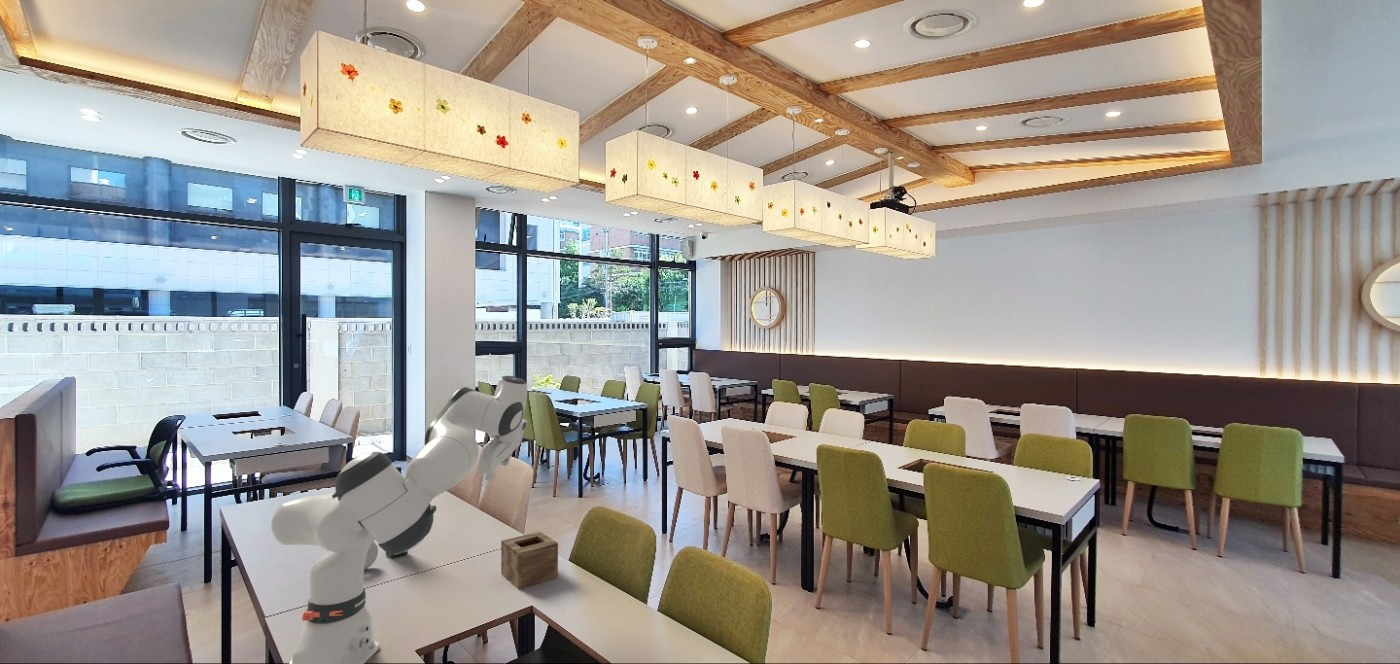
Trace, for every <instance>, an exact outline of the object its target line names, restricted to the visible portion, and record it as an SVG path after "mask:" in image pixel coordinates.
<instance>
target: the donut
mask: <svg viewBox="0 0 1400 664" xmlns="http://www.w3.org/2000/svg"><path fill="white" fill-rule="evenodd" d="M377 545H378V544H376V542H375V541H373V543H372V544H371V546H370V548H369V550H368V552H367V555H366V558H365V564H364V571H365V570H367V569H369V568H370V567H371V566H373V564H374V563H375V562H376V559H377V557H378V554H379V553H378V552H379V549H378V546H377Z"/></svg>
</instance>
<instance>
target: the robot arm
mask: <svg viewBox="0 0 1400 664" xmlns="http://www.w3.org/2000/svg"><path fill="white" fill-rule="evenodd" d="M495 387H496V388H495V391H494V395H490V394H488V393H484V392H480V391H477V390H474V389H472V388H470V387H466V386H465V387H461V388H459V389H457V390H455V391H453V392H452V394H451V395H450V397H449V398H448V400H447V402H446V404H445V405H444V407H443V408H442V409H441V410H440V411H439V412H438V414H437V415H436V416H435V417H434V419H433V420H432V421H431V423H430V424H429V425H428V427H427V429H426V432H425V435H424V446H422V447H421V448H420V449H419V451H418V452H417V453H416V454H415V455H414V456H413V457H412V459H411V460H410V461H409V463H408V465H407V467H406V469H405V473H404V475H405V476H404V475H402V472H401V473H400V472H399V471H398V470H397V469H396V468H395V467H396V466H395V465H394V464H392V463H393V461H392V460H391V459H390V458H389V457H388V456H387V455H385V454H384V453H383V452H381V451H372V452H371V453H370V452H369V453H365V454H361V455H359V456H356V457H354V458H353V459H352V460H350V461H348V462H347V464H345V466H344V467H343V468H342V469H341V471H340V472H339V473H338V474H337V476H336V479H335V483H334V486H335V489H334V490H335V492H331V493H324V494H317V495H309V496H304V497H300V498H296V499H293V500H289V501H286V502H282V504H280V506H278V507H277V509H276V510H275V512H274V514H273V516H272V518H271V522H270V523H271V525H270V527H271V529H270V530H271V533H272V535H273V537H274V538H275V540H276V541H277V542H278V543H280V545H283V546H316V547H317V546H318V547H320V548H322V549H324V550H326V551H328V552H326V553H325V554H323V555H322V556H320V557H319V558H318V559H317V560H315V562H314V563H313V565H312V566H311V569H310V571H309V573H310V574H309V579H310V580H309V583H310V585H309V586H310V588H309V590H310V592H309V593H310V595H309V596H310V597H309V599H308V604H307V606H306V610H305V611H303V613H302V617H301V619H302V621H303V622H304V624H303V627H302V629H301V632H300V635H299V636H298V639H297V641H296V642H297V643H296V644H295V647H294V650H293V653H292V656H291V659H290V661H289V663H288V664H365V663H367V662H368V660H369V659H371V658H372V656H374V654H375V653H376V652H378V651H379V650H380V649H381V645H380V642H379V641H376V640H374V628H373V627H374V626H373V616H372V613H370V612H369V611H368V610H367V608H366V606H365V605H366V603H367V602H366V599H367V593H366V588H365V586H364V575H365V573H364V572H365V570H364V564H365V558H366V555H367V552H368V550H369V548H370V546H371V544H372V543H373V542H375V541H376V542H377V543H378V547H380V548H381V549H382V550H383V551H384V552H385V553H386V552H387V553H389V554H390V555H398V554H401V553H403V552H406V551H408V552H409V551H411V550H413V549H414V548H415V547H417V546H418V545H420V544H421V543H422V542H423V541H424V540H425V538H426V536H428V535H429V533H430V531H431V530H432V527H433V524H434V514H435V513H436V511H437V506H436V505H435V504H433V505H431V502H432V501H433V500H434V498H436V497H438V496H440V495H441V494H443V493H445V492H447V491H448V490H450V489H451V488H452V487H454V486H455V485H457V484H458V483H459V482H460V481H461V480H463V479H464V478H465V477H466V476H467V475H468V474H469V472H471V471H472V469H473V468H474V467H475V466H476V464H477V461H478V465H477V470H478V471H479V473H480V472H481V473H483V474H485V480H486V481H489V482H491V481H492V480H494V478H495V473H494V471H495V470H496V468H497V467H499V466H500V465H502V466H508V465H509V463H510V460H511V457H512V455H513V452H514V451H515V450H516V449H517V448H518V447H520V445H521V443H522V441H523V437H524V433H525V429H526V427H527V425H528V420H527V419H524V418H523V416H524V412H525V410H526V405H527V399H528V383H527V382H526V381H525V380H524V379H522V378H521V377H520V378H519V377H518V376H514V375H503V376H501V377H499V379H498V381H497V384H496V386H495ZM463 427H466V428H469V429H473V430H477V431H479V432H482V433H487V436H488V437H489V438H490V440H489V441H488V442H487V443H485V445H484V446H483V447H482V449H481V452H480V451H479V445H478V442H477V440H476V438H475V437H474V435H473V434H472V433H471V432H470V431H469V430H468V429H466V428H463ZM479 452H480V454H479ZM479 455H480V456H479Z"/></svg>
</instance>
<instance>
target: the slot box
mask: <svg viewBox="0 0 1400 664" xmlns="http://www.w3.org/2000/svg"><path fill="white" fill-rule="evenodd" d="M500 543H501V544H500V545H501V546H500V549H501V550H500V551H501V555H500V556H501V557H500V561H501V565H500V567H501V569H500V570H501V574H502V575H503V576H504V577H505V578H506V579H505V578H504V577H503V576H502V575H501V574H500V575H501V576H502V577H503V578H504V579H505V580H506V581H508V582H509V581H510V582H511V583H512V584H511V583H510V582H509V583H510V584H511V585H513V586H514V587H515V588H516V589H517V590H521V589H524V588H528V587H531V586H534V585H537V584H540V583H543V582H544V581H545V582H547V580H548V581H550V580H554V578H555V579H558V578H559V576H558V575H559V542H557V541H556V540H554V539H552V538H551V537H549V536H547V535H546V534H544V533H543V532H541V531H536V532H533V533H532V532H531V533H528V534H527V533H526V534H523V535H520V536H515V537H511V538H508V539H503V540H501V541H500Z"/></svg>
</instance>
